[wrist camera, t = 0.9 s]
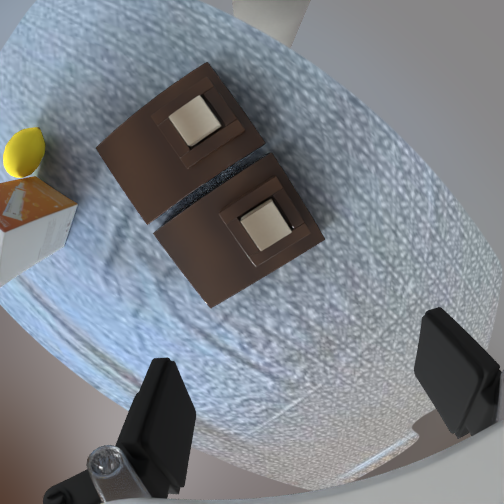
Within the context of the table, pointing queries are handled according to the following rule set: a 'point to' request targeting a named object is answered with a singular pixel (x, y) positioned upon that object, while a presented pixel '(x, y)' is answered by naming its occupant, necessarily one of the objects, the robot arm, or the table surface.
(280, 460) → the table surface
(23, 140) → the lemon
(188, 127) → the key
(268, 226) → the key
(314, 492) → the robot arm
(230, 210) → the keys high
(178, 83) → the keys low
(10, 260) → the small box
